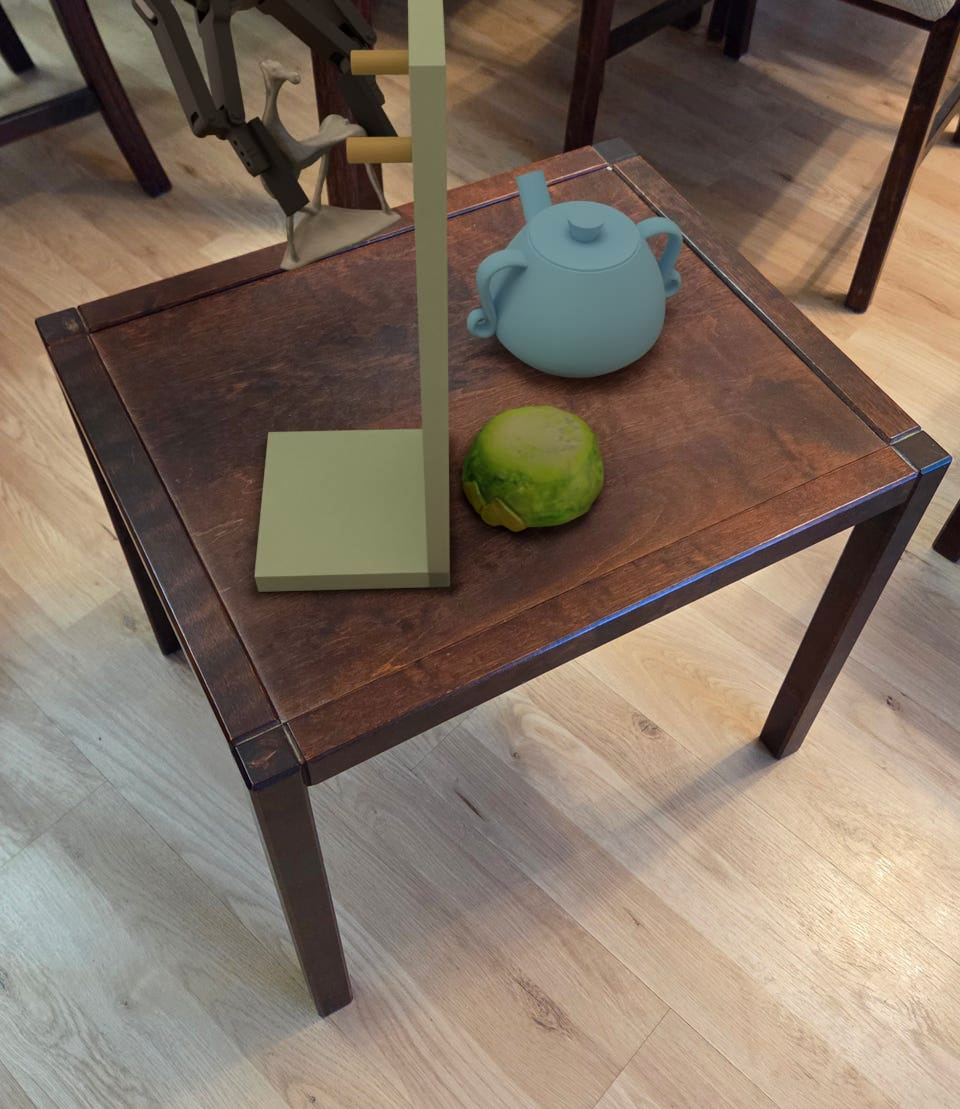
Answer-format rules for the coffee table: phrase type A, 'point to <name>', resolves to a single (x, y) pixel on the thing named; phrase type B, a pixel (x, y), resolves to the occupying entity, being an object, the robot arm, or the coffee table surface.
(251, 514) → the coffee table surface
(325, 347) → the coffee table surface
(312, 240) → the figurine
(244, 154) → the robot arm
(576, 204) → the teapot
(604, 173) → the coffee table surface
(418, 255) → the rack
